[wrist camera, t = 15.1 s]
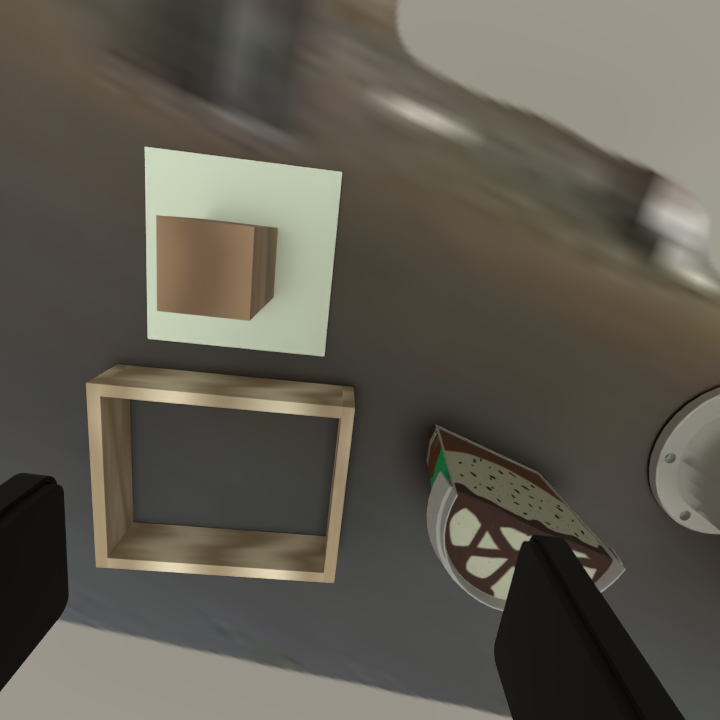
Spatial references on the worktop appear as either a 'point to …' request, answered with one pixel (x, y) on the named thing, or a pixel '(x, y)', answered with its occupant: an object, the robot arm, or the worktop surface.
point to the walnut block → (214, 267)
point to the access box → (201, 544)
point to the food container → (499, 518)
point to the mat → (256, 207)
